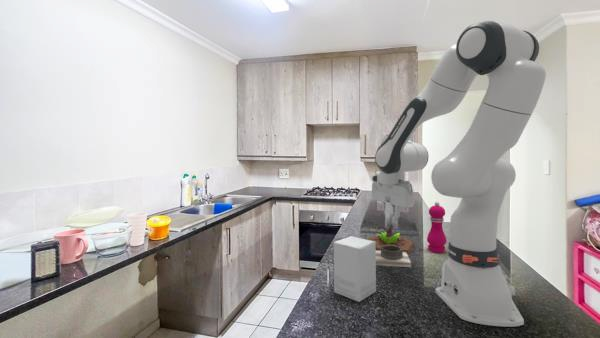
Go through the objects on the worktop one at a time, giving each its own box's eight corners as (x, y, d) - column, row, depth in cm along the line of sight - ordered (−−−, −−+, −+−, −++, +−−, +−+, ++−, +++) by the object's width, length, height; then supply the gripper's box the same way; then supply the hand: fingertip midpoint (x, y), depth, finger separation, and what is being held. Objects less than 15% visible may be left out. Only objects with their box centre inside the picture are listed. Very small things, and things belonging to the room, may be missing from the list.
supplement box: (377, 292, 88) (377, 241, 87) (359, 303, 82) (359, 248, 81) (351, 282, 94) (351, 235, 94) (333, 292, 88) (332, 241, 87)
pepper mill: (448, 254, 119) (449, 203, 118) (429, 253, 120) (429, 203, 119) (443, 248, 126) (444, 200, 125) (425, 247, 127) (425, 200, 126)
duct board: (411, 267, 106) (411, 254, 106) (375, 265, 108) (375, 252, 108) (405, 255, 118) (406, 244, 117) (374, 254, 120) (374, 242, 120)
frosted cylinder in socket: (400, 228, 111) (400, 196, 110) (390, 229, 110) (390, 196, 109) (392, 225, 116) (392, 194, 115) (382, 226, 114) (382, 195, 113)
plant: (362, 253, 122) (362, 225, 122) (367, 239, 141) (367, 215, 140) (415, 258, 116) (415, 229, 116) (413, 243, 135) (413, 218, 134)
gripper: (419, 181, 103) (418, 221, 104) (382, 175, 122) (382, 209, 123) (404, 181, 101) (403, 222, 102) (369, 176, 120) (368, 211, 121)
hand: (391, 215), depth 112 cm, fingers closed on frosted cylinder in socket, 4 cm apart
